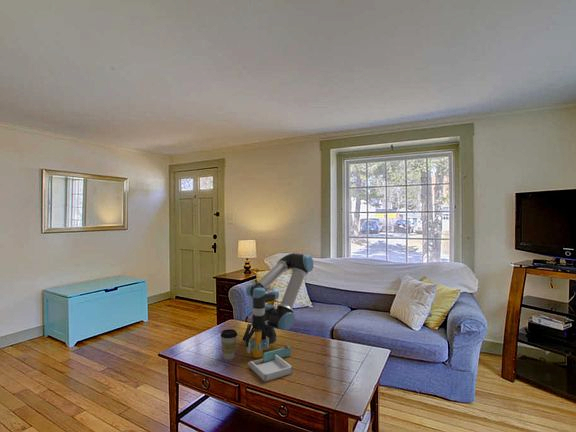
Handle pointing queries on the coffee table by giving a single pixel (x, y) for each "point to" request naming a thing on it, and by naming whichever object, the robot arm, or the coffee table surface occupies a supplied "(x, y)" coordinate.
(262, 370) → the white square tray
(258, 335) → the orange tube with rings
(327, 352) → the coffee table surface
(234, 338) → the coffee cup
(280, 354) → the gate
